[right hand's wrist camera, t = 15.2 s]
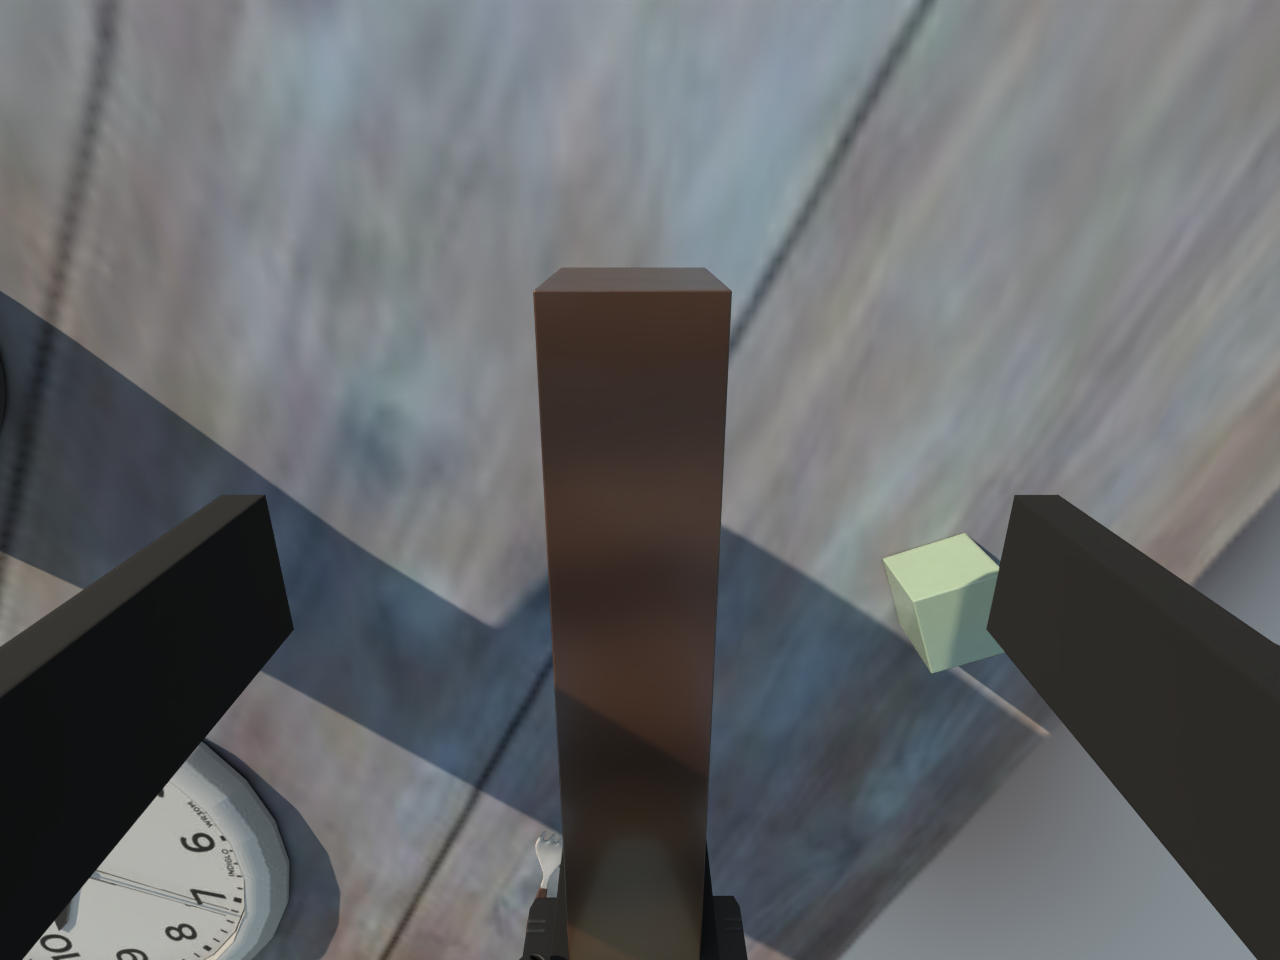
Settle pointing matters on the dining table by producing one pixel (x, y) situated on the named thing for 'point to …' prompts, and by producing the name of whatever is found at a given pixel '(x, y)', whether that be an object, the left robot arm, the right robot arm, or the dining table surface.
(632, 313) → the walnut block
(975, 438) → the dining table surface
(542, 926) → the left robot arm
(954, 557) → the sage block
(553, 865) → the fork
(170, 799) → the wall clock
